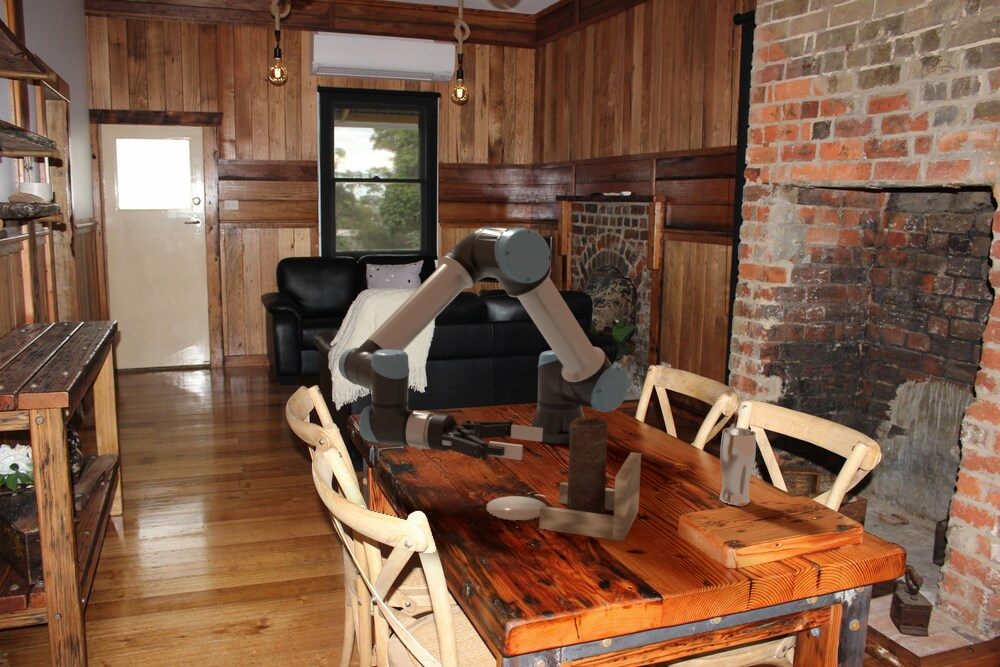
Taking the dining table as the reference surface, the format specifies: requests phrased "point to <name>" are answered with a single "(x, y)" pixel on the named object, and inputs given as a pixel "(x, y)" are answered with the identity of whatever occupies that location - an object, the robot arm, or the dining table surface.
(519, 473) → the dining table surface
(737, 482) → the beer glass
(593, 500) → the candle
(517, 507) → the coaster
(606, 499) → the shelf
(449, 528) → the dining table surface
